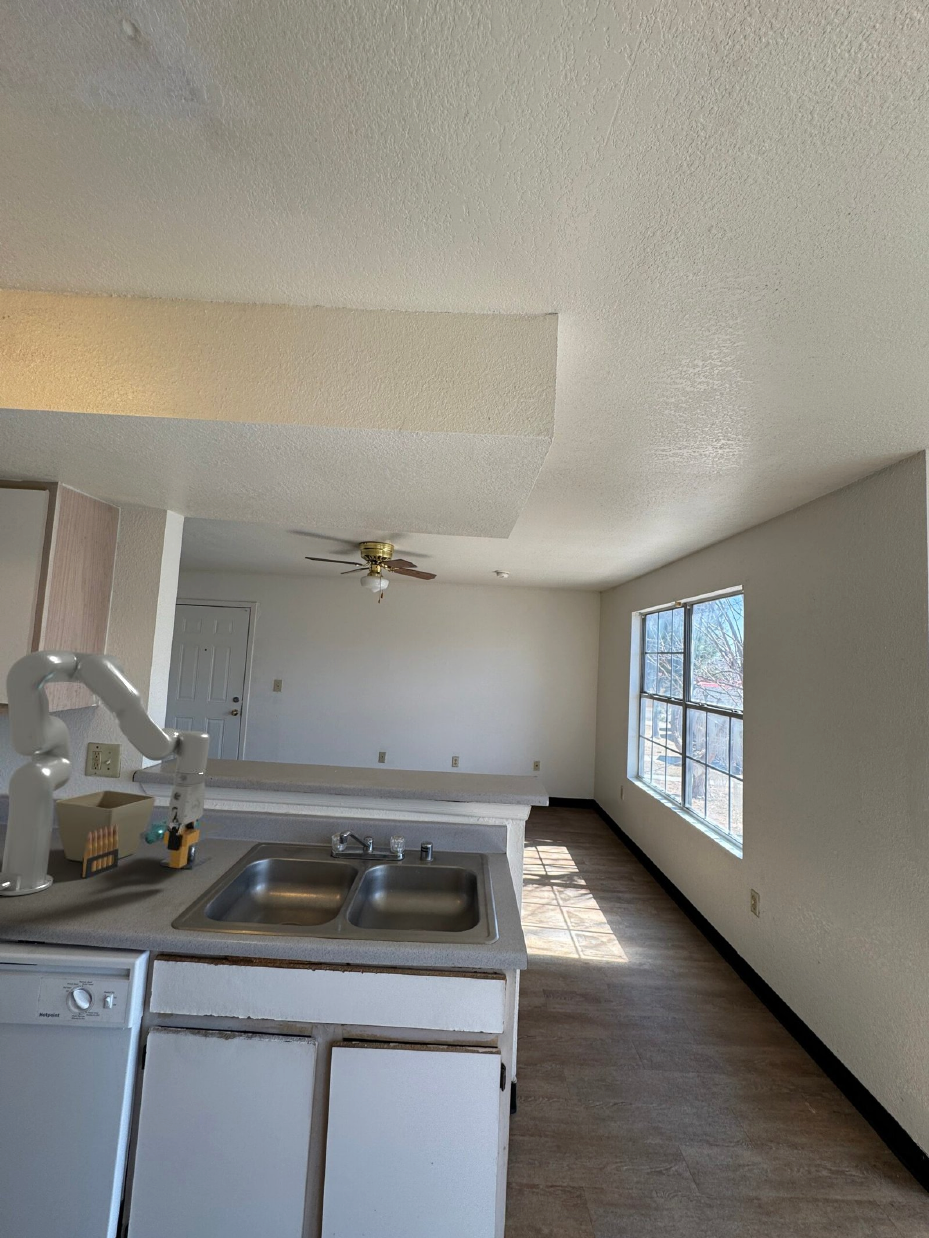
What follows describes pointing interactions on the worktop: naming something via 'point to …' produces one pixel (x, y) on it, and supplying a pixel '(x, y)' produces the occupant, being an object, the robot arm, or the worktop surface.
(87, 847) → the ammunition clip
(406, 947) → the worktop surface
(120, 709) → the robot arm
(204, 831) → the teal meat grinder
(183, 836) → the tan t-shaped peg
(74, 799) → the flower pot
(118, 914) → the worktop surface
